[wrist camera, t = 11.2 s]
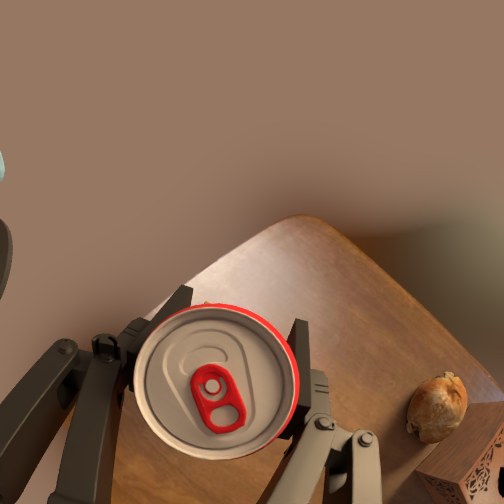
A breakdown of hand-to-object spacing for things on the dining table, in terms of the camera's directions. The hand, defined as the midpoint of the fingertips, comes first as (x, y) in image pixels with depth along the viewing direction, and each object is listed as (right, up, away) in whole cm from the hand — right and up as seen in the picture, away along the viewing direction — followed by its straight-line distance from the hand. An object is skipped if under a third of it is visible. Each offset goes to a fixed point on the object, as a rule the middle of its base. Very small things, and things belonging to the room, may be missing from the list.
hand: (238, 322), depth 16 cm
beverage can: (-1, -5, +3) cm, 6 cm away
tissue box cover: (+37, -34, +6) cm, 50 cm away
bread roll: (+26, -18, +12) cm, 34 cm away
